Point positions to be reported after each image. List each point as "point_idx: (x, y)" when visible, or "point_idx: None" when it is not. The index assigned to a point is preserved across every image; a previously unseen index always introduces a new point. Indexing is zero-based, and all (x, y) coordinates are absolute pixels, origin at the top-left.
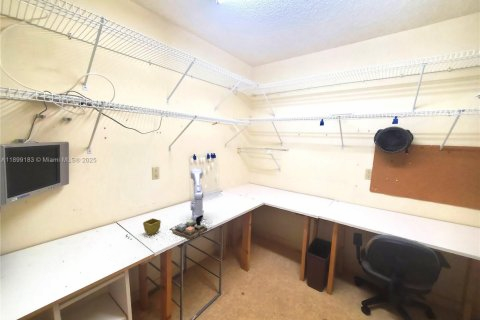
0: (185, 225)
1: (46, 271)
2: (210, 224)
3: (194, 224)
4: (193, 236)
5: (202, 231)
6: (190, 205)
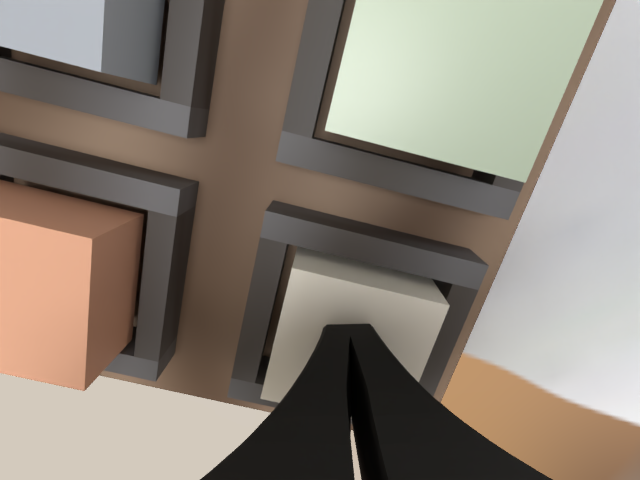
0: (64, 56)
1: None
2: (633, 379)
3: (420, 196)
4: None
5: None
6: None
